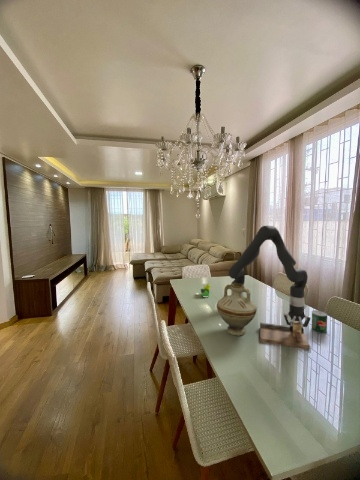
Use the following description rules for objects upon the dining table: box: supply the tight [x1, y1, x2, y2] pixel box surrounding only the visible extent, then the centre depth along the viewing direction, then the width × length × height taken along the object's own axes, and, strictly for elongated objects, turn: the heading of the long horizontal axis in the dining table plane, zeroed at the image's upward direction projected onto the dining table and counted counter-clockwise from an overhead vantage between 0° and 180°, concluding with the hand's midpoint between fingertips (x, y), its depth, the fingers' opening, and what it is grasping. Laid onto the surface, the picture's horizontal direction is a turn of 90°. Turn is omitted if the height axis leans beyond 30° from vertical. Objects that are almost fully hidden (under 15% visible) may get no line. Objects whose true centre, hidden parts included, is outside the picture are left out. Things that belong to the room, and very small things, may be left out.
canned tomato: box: [311, 310, 328, 335], centre depth 128 cm, size 8×8×11 cm
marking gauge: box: [292, 321, 302, 341], centre depth 118 cm, size 4×12×7 cm, turn 160°
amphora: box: [216, 283, 258, 337], centre depth 129 cm, size 24×24×30 cm
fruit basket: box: [200, 283, 211, 297], centre depth 193 cm, size 11×9×11 cm
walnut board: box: [259, 322, 311, 350], centre depth 122 cm, size 24×16×4 cm, turn 70°
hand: (296, 332), depth 121 cm, fingers closed on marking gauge, 4 cm apart
